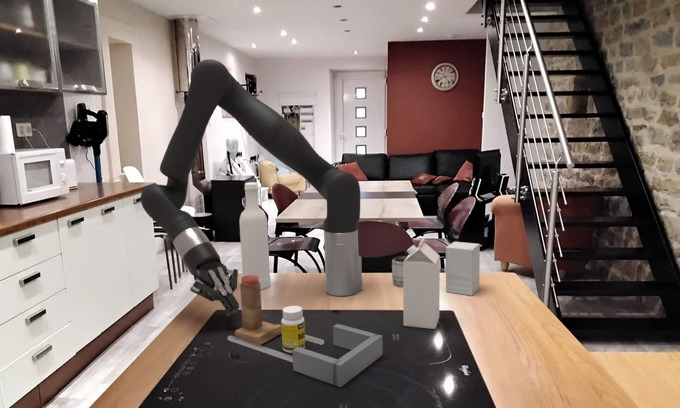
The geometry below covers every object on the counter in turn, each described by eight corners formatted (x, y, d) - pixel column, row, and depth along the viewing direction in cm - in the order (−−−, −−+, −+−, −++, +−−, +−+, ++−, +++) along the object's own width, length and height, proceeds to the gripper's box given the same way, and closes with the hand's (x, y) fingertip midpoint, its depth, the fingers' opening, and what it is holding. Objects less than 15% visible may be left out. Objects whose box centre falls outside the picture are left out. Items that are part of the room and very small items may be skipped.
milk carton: (439, 317, 111) (440, 238, 108) (435, 330, 104) (435, 245, 101) (409, 314, 113) (408, 236, 110) (403, 326, 106) (402, 243, 103)
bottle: (261, 280, 143) (255, 180, 138) (276, 285, 137) (271, 182, 132) (237, 286, 137) (231, 183, 133) (252, 292, 132) (246, 185, 127)
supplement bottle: (301, 354, 94) (300, 314, 93) (279, 352, 95) (277, 312, 94) (308, 343, 99) (306, 305, 98) (286, 342, 100) (284, 304, 98)
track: (260, 324, 109) (260, 321, 109) (324, 343, 99) (324, 340, 98) (227, 340, 101) (227, 336, 101) (293, 362, 91) (292, 358, 91)
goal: (338, 341, 99) (337, 323, 99) (382, 354, 93) (382, 335, 92) (293, 370, 88) (292, 350, 87) (340, 387, 82) (340, 365, 81)
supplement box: (480, 288, 130) (481, 243, 128) (471, 296, 124) (472, 249, 122) (453, 284, 134) (454, 240, 132) (444, 292, 128) (445, 246, 126)
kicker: (258, 326, 108) (255, 272, 106) (282, 333, 104) (279, 277, 102) (235, 337, 102) (231, 280, 100) (259, 345, 98) (255, 286, 96)
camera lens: (418, 283, 136) (418, 256, 135) (407, 289, 131) (407, 261, 130) (399, 279, 140) (399, 253, 139) (388, 285, 135) (387, 258, 134)
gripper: (178, 247, 104) (219, 311, 99) (225, 235, 115) (263, 293, 110) (165, 267, 108) (204, 329, 103) (212, 254, 119) (249, 310, 114)
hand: (235, 310), depth 106 cm, fingers closed
